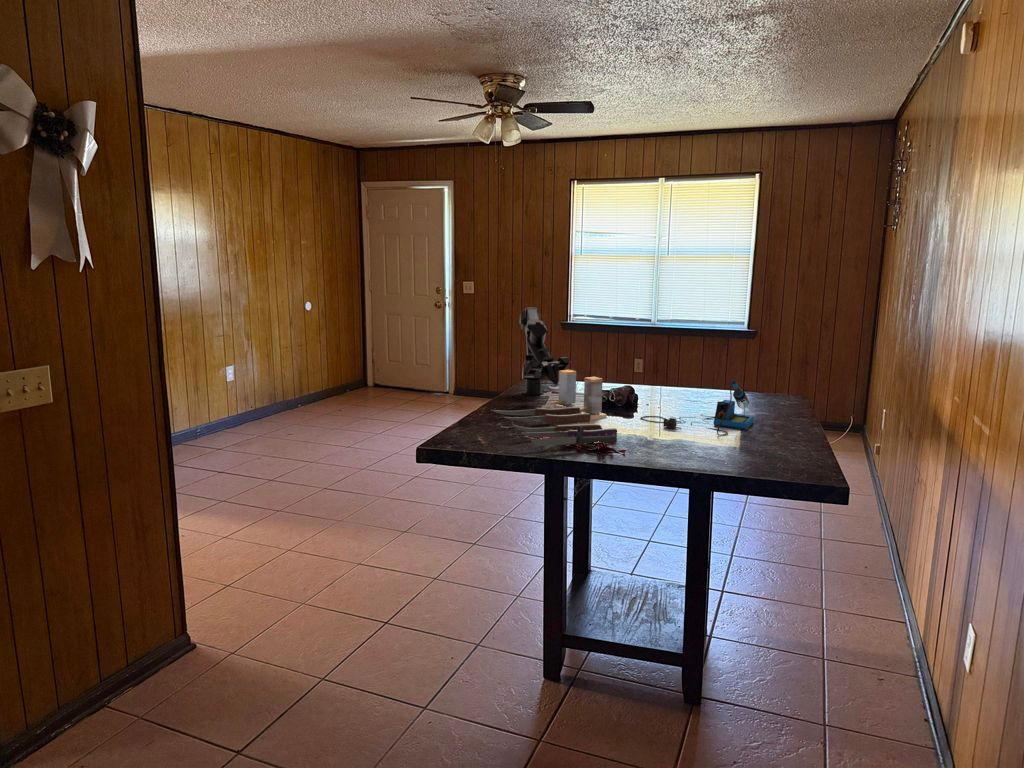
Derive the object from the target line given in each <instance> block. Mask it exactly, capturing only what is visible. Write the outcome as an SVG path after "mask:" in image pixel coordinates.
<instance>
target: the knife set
mask: <svg viewBox="0 0 1024 768" xmlns="http://www.w3.org/2000/svg"><path fill="white" fill-rule="evenodd" d="M491 411H492V412H493V413H496V414H501V415H506V416H503V418H504V419H507V420H511V425H512V427H513V428H514V429H515V430H519V431H522V432H521V435H524V436H527V437H528V436H529V437H534V438H535V437H540V438H537V439H530V441H531V443H533V444H535V445H536V446H537V447H538V446H539V447H549V446H558V445H560V446H561V445H565V446H566V445H576V444H577V445H578V446H579V447H580V446H581V445H582V444H583V445H585V444H584V443H591V442H598V441H599V442H604V443H608V444H609V445H616V444H617V442H618V438H617V435H618V430H617V429H618V428H617V429H616V428H611V427H610V428H603V427H602V425H600V424H597V423H591V420H590V419H591V416H590V414H589V413H581V414H579V413H580V408H579V407H566V408H555V409H545V408H541V407H535V408H534V409H533V408H532V409H521V410H520V409H519V410H498V409H497V410H496V409H491ZM507 415H509V416H507ZM528 415H530V416H528ZM511 416H513V417H511ZM517 416H522V417H517ZM523 416H525V417H523ZM537 420H538V421H540V422H541V423H545V425H555V426H550V427H549V426H546V427H524V426H520V425H516V424H514V422H513V421H537ZM546 437H552V438H546ZM583 445H582V446H583Z"/></svg>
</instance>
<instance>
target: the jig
mask: <svg viewBox="0 0 1024 768" xmlns="http://www.w3.org/2000/svg"><path fill="white" fill-rule="evenodd" d="M603 381H604V380H603V378H602V377H597V376H590V377H589V376H588V377H584V382H583V383H584V386H583V389H584V390H583V406H580V405H575V404H573V405H572V404H567V405H566V404H562V403H561V404H559V405H563V406H566V407H579V408H580V413H579V414H581V413H589V414H590V416H591V419H590V421H596V420H600V419H606V418H607V414H606V413H603V412H602V406H603V405H602V404H603ZM540 408H545V409H555V408H562V407H559V406H557V404H556V406H554V405H550V403H549V404H543V405H541V407H540Z"/></svg>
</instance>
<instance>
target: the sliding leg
mask: <svg viewBox="0 0 1024 768" xmlns="http://www.w3.org/2000/svg"><path fill="white" fill-rule="evenodd" d="M576 391H577V371H576V370H573V369H565V370H561V371H558V400H557V401H551V402H550V403H549V404H550V405H554V406H556V404H561V403H562V404H566V405H567V404H573V405H575V404H576V402H577V401H576V397H577V394H576V393H577V392H576Z"/></svg>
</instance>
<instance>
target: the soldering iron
mask: <svg viewBox="0 0 1024 768" xmlns="http://www.w3.org/2000/svg"><path fill="white" fill-rule="evenodd" d="M732 389H733V393H732ZM729 394H730V395H729V397H730V399H723V400H722V401H717V404H716V409H715V413H714V416H709V415H708V416H707V415H705V418H701V420H702V421H703V422H707V423H703V424H704V425H708V424H710V423H709V421H707V420H711V419H712V420H713V426H715V427H718V428H711V427H707V428H708V430H712V431H716V434H717V436H719V435H723V436H727V435H728V434H729V432H728V431H726V430H722V429H720V427H723V428H729V427H730V429H737V428H739V429H738V430H744V429H746V430H748V429H749V427H751V426H752V425H753V423H754V416H753V415H751V414H745V411H746V408H748V407H749V405H750V400H749V398H748V396H747V395H746V391H745V390H744V389H741V388H740V386H739V384H738V382H737V380H735V379H732V380H731V382H730V386H729ZM732 397H733V398H734V400H733V399H732ZM736 405H737V407H738V408H739V409H741V410H742V409H743V414H741V413H735V407H736ZM741 405H743V407H741ZM700 416H701V417H704V413H702V414H700ZM644 418H659V419H663V421H654V420H648V419H644ZM682 418H685V419H686V418H688V419H689V418H690V419H695V418H696V417H695V416H693V417H692V416H691V417H689V416H680V417H678V420H677V418H673V417H669V418H666V417H662V416H659V415H645V416H641V417H640V419H641V420H642V421H646V422H649V423H657V424H662V423H663V427H664V428H665V427H666V428H667V429H669V430H675V429H679V430H681V429H682V427H679V426H677V425H678V424H686V421H685V420H683V419H682ZM695 424H700V422H699V421H698V422H697V421H695ZM692 425H693V421H691V422H690V426H692ZM692 427H693V426H692ZM719 432H723V433H722V434H719Z"/></svg>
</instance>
